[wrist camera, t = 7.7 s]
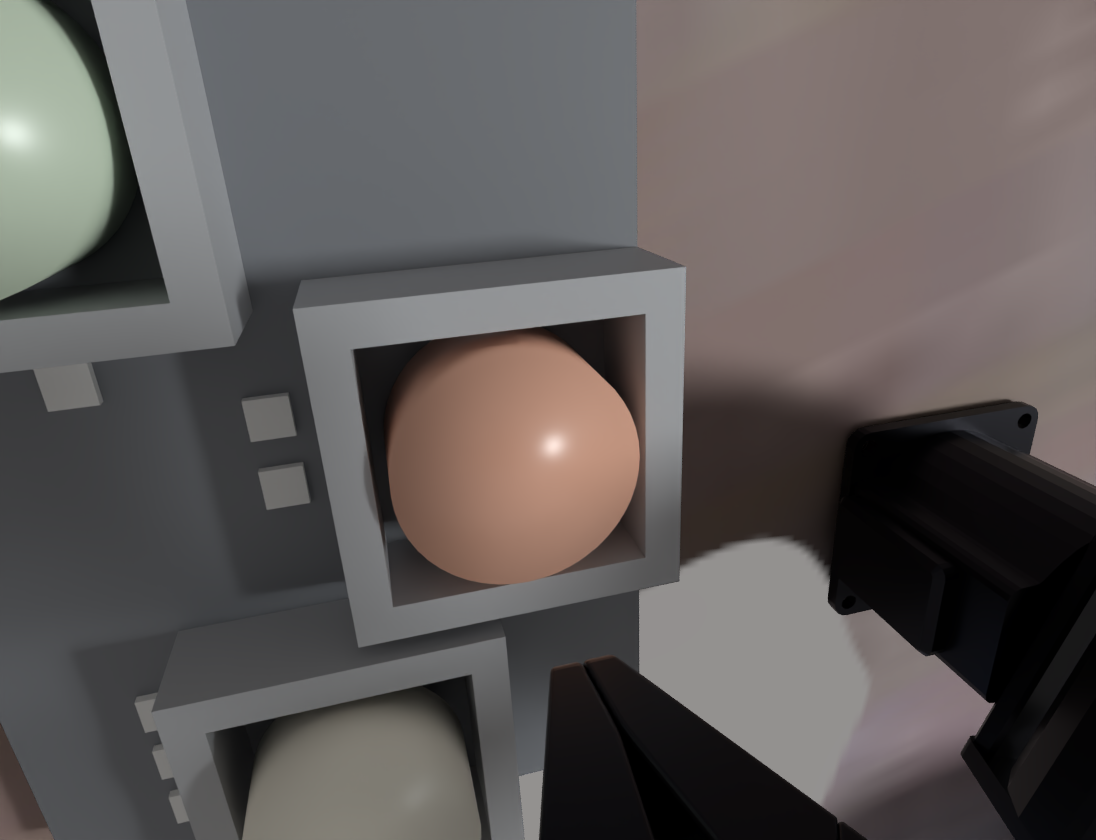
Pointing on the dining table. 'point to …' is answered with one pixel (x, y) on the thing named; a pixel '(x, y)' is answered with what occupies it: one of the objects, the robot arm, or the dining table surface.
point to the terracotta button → (507, 455)
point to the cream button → (364, 773)
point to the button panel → (314, 393)
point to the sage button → (56, 146)
